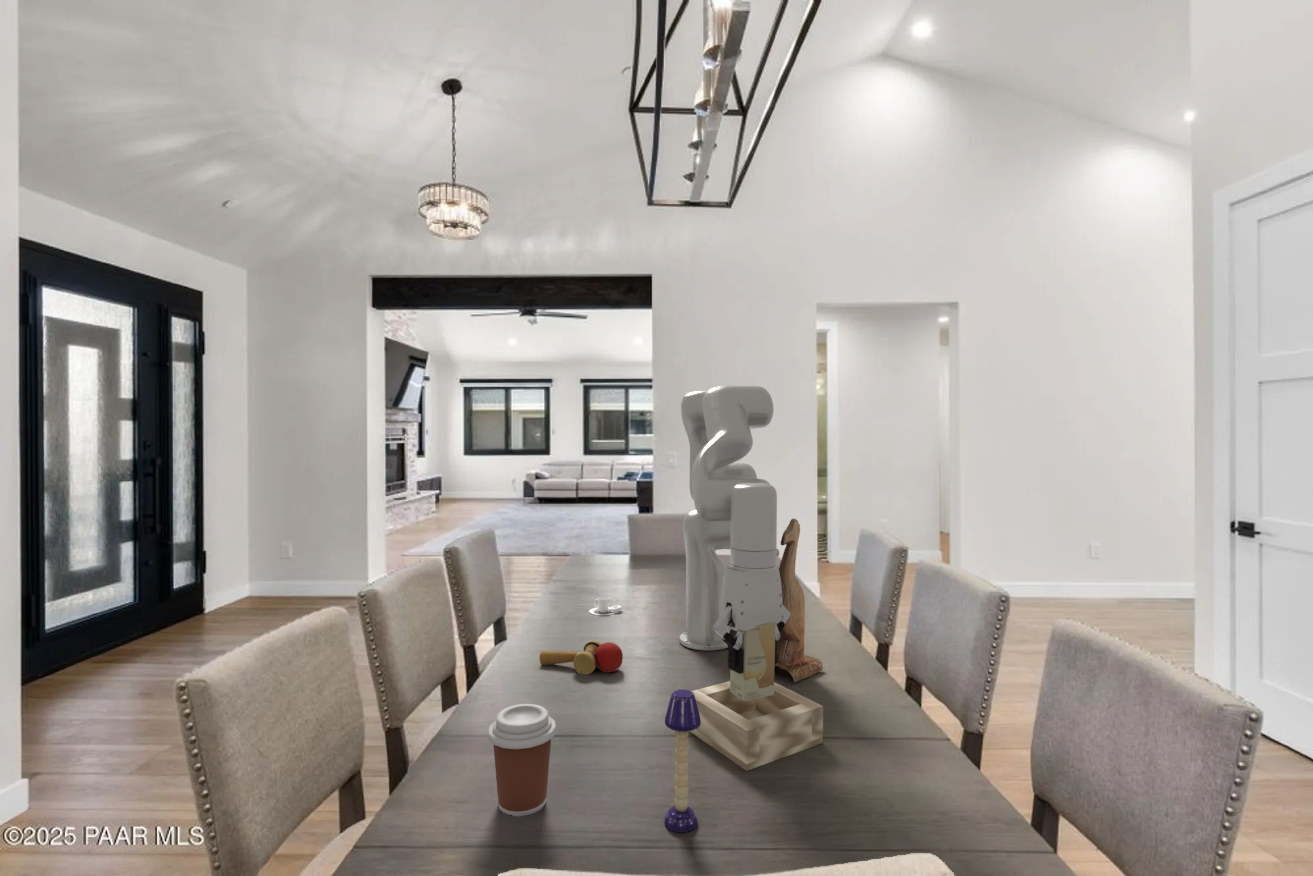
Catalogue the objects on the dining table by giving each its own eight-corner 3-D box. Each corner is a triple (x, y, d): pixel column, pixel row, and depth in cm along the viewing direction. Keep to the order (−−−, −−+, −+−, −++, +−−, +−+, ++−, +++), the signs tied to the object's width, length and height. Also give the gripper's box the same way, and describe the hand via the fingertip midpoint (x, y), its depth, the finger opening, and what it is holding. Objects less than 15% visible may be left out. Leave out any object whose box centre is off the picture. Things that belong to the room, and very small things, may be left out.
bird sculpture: (748, 671, 134) (749, 518, 134) (778, 656, 143) (780, 513, 142) (795, 686, 127) (797, 524, 126) (824, 669, 135) (826, 518, 135)
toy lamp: (662, 811, 85) (663, 686, 85) (697, 809, 86) (698, 685, 85) (666, 834, 80) (666, 701, 80) (703, 832, 81) (703, 700, 81)
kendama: (534, 679, 134) (617, 675, 129) (533, 647, 135) (614, 642, 131) (550, 672, 141) (628, 668, 137) (548, 642, 142) (626, 637, 138)
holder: (756, 706, 117) (757, 673, 117) (822, 743, 104) (823, 706, 104) (684, 728, 109) (685, 692, 109) (746, 771, 95) (746, 730, 95)
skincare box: (744, 702, 103) (744, 626, 103) (728, 692, 107) (729, 619, 106) (776, 695, 106) (776, 621, 106) (760, 685, 110) (760, 614, 109)
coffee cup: (560, 783, 92) (560, 699, 92) (551, 822, 83) (551, 729, 83) (495, 784, 92) (495, 700, 91) (480, 823, 83) (480, 730, 82)
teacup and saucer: (625, 612, 178) (626, 597, 178) (608, 619, 172) (608, 604, 172) (600, 607, 183) (600, 592, 183) (583, 614, 176) (583, 599, 176)
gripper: (776, 549, 114) (776, 650, 114) (697, 560, 104) (696, 669, 105) (807, 556, 107) (806, 663, 108) (726, 568, 98) (725, 685, 98)
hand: (752, 665), depth 106 cm, fingers closed on skincare box, 6 cm apart
